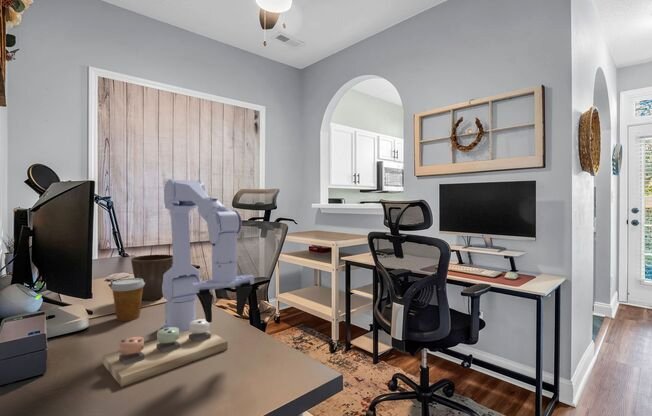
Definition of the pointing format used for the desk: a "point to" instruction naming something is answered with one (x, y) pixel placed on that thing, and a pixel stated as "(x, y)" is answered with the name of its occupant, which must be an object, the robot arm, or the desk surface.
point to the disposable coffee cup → (127, 298)
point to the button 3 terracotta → (131, 345)
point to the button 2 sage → (168, 335)
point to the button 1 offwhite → (199, 326)
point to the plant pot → (151, 273)
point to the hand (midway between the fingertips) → (224, 317)
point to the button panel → (162, 356)
